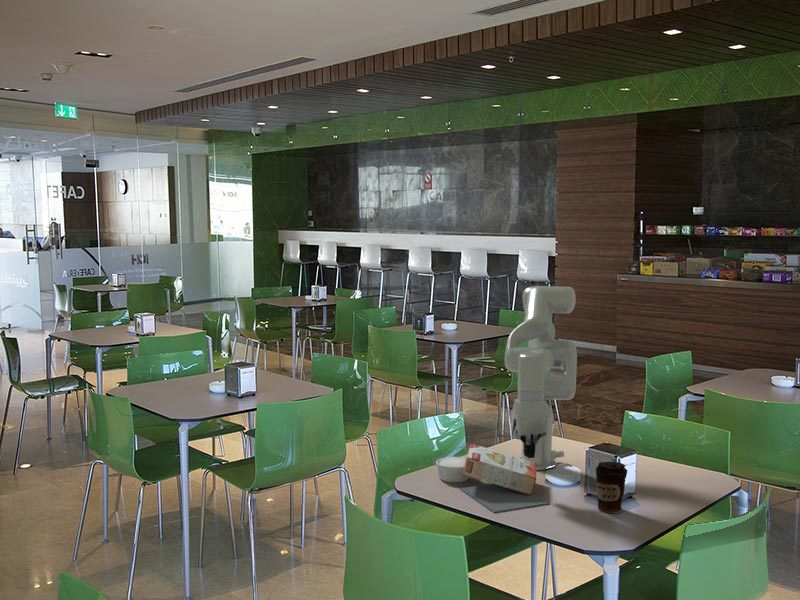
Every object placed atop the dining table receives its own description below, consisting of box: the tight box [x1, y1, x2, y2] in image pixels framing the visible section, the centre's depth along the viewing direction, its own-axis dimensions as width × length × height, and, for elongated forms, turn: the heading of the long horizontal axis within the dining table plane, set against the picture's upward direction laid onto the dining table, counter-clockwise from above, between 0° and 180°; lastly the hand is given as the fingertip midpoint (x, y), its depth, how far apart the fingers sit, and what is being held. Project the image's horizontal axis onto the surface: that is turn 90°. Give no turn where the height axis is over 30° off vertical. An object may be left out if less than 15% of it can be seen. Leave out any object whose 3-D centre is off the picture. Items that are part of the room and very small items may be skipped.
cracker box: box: [463, 443, 537, 495], centre depth 234 cm, size 14×6×21 cm
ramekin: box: [435, 456, 471, 483], centre depth 243 cm, size 11×11×5 cm
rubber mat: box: [459, 483, 551, 514], centre depth 227 cm, size 18×20×1 cm
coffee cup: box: [595, 461, 628, 514], centre depth 216 cm, size 9×8×13 cm
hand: (529, 456), depth 229 cm, fingers closed
